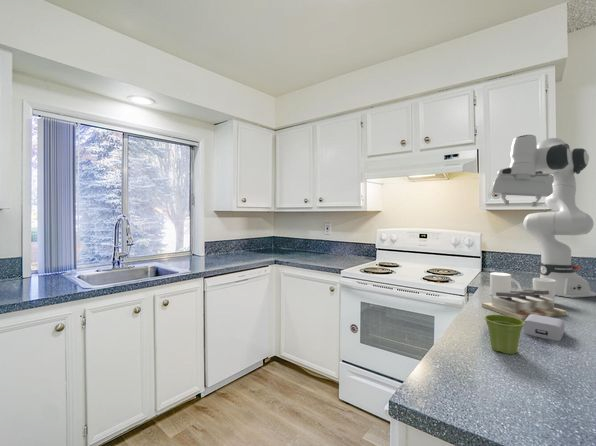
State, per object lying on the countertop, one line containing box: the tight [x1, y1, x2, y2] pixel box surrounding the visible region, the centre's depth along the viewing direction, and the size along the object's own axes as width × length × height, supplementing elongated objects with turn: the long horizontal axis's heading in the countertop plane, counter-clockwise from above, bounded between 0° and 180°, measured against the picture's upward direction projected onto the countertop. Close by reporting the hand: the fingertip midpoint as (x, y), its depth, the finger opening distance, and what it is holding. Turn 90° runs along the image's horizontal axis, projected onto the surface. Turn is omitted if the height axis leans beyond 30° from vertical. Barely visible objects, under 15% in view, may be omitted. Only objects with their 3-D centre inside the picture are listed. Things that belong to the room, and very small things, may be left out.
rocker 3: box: [522, 289, 549, 295], centre depth 123 cm, size 3×8×2 cm, turn 14°
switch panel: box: [481, 295, 568, 321], centre depth 122 cm, size 22×17×6 cm
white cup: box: [532, 277, 556, 300], centre depth 132 cm, size 8×8×10 cm
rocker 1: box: [496, 292, 521, 298], centre depth 120 cm, size 3×8×2 cm, turn 14°
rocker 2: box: [510, 290, 535, 296], centre depth 122 cm, size 3×8×2 cm, turn 14°
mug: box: [489, 271, 522, 297], centre depth 143 cm, size 8×10×12 cm
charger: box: [522, 314, 565, 342], centre depth 101 cm, size 5×9×15 cm
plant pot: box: [484, 314, 524, 355], centre depth 87 cm, size 9×9×9 cm
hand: (520, 205), depth 124 cm, fingers open, 8 cm apart
